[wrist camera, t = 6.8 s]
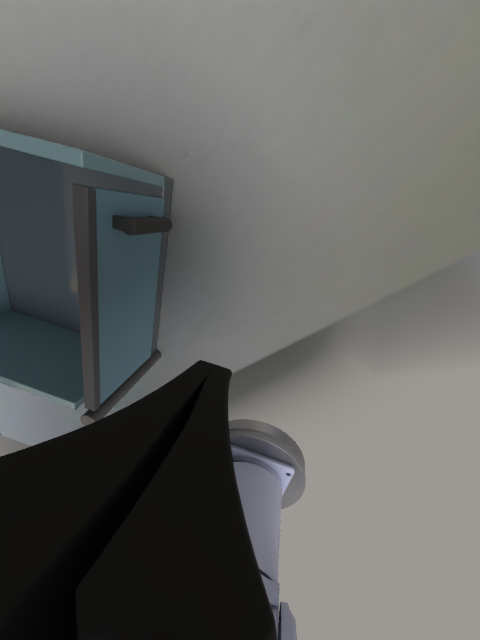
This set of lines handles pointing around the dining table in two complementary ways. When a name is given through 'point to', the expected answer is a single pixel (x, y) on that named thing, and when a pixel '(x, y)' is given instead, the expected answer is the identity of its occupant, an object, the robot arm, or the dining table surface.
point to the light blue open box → (55, 265)
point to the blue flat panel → (115, 283)
